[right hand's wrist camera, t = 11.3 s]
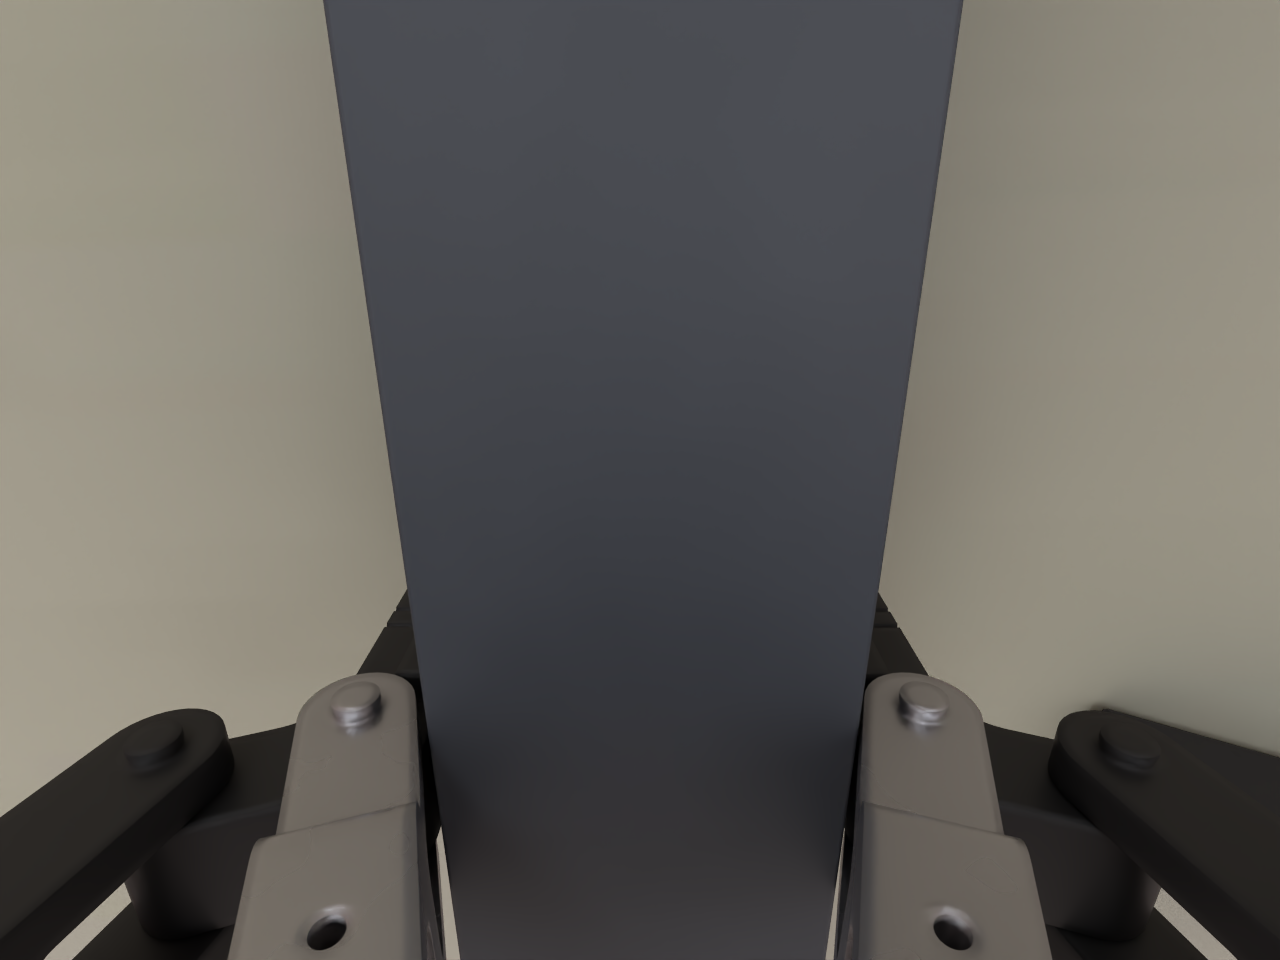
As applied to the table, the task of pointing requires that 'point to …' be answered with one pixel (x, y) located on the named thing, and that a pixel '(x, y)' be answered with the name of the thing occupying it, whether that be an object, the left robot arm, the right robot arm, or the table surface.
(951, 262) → the table surface
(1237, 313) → the table surface
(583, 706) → the post
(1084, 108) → the table surface
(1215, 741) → the midi keyboard
